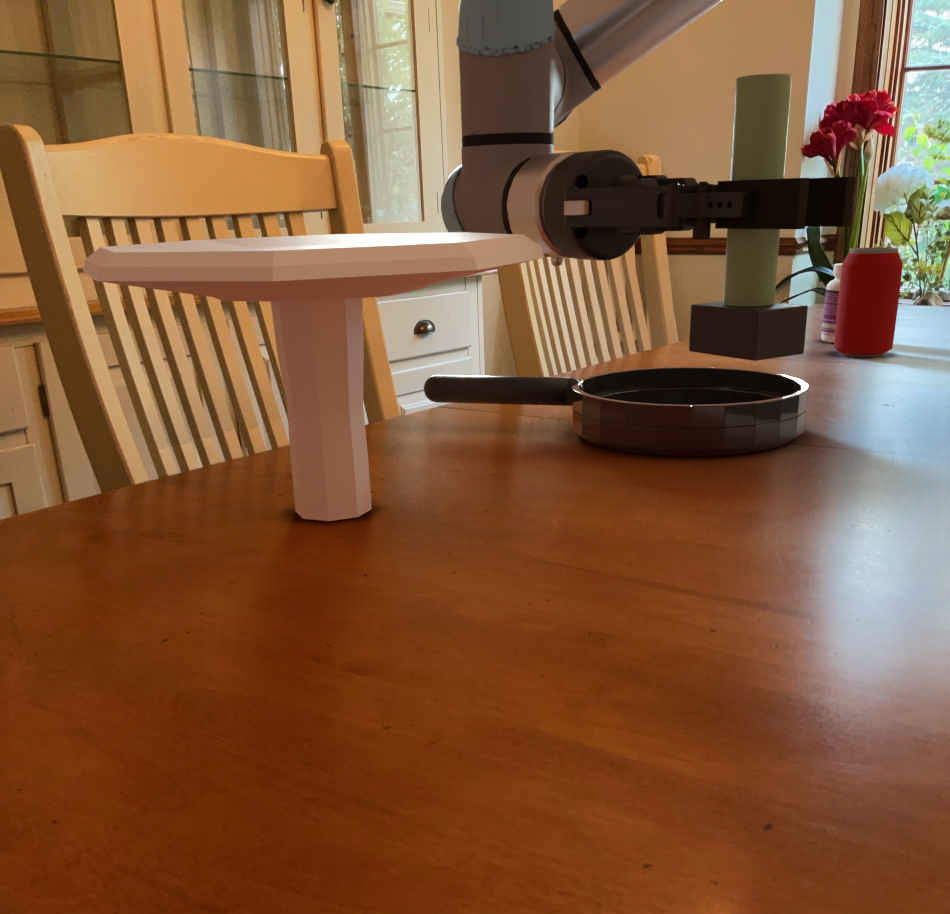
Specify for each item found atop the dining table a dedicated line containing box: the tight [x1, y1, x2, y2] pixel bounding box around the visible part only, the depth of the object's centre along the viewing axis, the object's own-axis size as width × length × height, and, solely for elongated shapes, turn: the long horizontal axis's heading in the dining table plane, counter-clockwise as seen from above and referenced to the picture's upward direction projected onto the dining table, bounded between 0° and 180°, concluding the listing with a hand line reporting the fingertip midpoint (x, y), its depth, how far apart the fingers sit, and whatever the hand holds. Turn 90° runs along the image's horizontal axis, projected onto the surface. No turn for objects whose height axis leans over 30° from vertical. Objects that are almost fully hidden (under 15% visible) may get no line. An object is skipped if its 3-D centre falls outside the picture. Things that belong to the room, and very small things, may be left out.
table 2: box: [82, 231, 546, 522], centre depth 66 cm, size 28×28×17 cm
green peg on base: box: [688, 73, 809, 362], centre depth 65 cm, size 6×4×16 cm
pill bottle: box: [820, 262, 843, 344], centre depth 135 cm, size 5×5×10 cm
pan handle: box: [423, 374, 583, 407], centre depth 91 cm, size 14×2×2 cm, turn 73°
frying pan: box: [570, 366, 809, 457], centre depth 87 cm, size 19×19×4 cm
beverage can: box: [833, 246, 904, 358], centre depth 124 cm, size 7×7×12 cm
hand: (825, 202), depth 60 cm, fingers closed on green peg on base, 3 cm apart
